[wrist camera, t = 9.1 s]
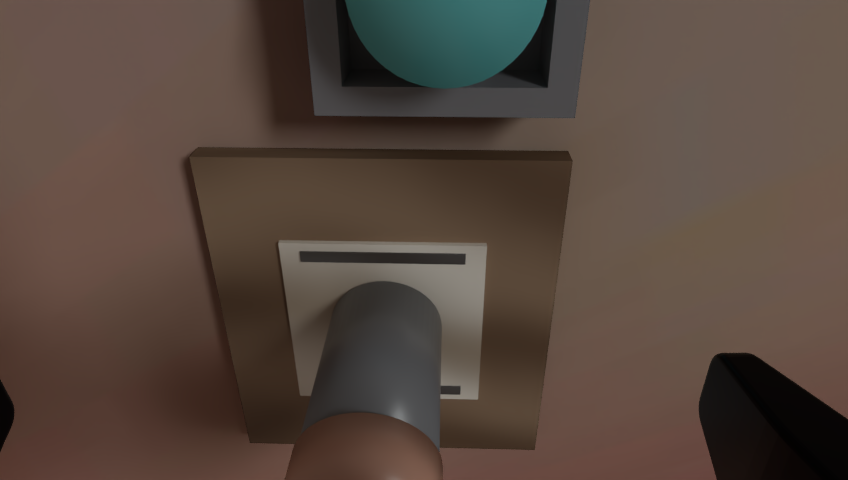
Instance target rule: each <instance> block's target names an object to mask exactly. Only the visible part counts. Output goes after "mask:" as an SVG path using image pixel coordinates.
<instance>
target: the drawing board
mask: <svg viewBox="0 0 848 480" xmlns="http://www.w3.org/2000/svg"><path fill="white" fill-rule="evenodd" d="M189 159H190V163H191V168H192V173H193V177H194V182H195V187H196V191H197V196H198V201H199V206H200V210H201V215H202V220H203V224H204V229H205V234H206V239H207V243H208V248H209V253H210V257H211V262H212V267H213V271H214V276H215V281H216V286H217V290H218V295H219V300H220V304H221V309H222V314H223V318H224V323H225V328H226V333H227V337H228V342H229V347H230V351H231V356H232V361H233V365H234V370H235V375H236V380H237V384H238V389H239V394H240V398H241V403H242V408H243V412H244V417H245V422H246V427H247V431H248V436H249V441H250V443H278V444H295V443H296V441H297V439H298V438H299V436H300V435H301V431H302V427H303V424H304V420H305V416H306V412H307V408H308V405H309V401H310V397H311V393H312V389H313V386H314V382H315V378H316V374H317V370H318V367H319V363H320V359H321V355H322V351H323V348H324V344H325V340H326V336H327V332H328V329H329V325H330V321H331V317H332V314H333V310H334V308H335V306H336V304H337V302H338V301H339V300H340V298H341V297H342V296H343V295H344V294H346V293H347V292H348V291H350V290H352V289H353V288H355V287H357V286H360V285H362V284H366V283H370V282H377V281H388V282H396V283H401V284H404V285H407V286H410V287H412V288H414V289H416V290H418V291H420V292H421V293H423V294H424V295H425V296H426V297H427V298H429V299H430V300H431V302H432V303H433V304H434V305H435V307H436V308H437V310H438V312H439V315H440V318H441V323H442V343H441V395H440V448H481V449H521V450H535V444H536V436H537V428H538V421H539V413H540V405H541V398H542V390H543V383H544V375H545V367H546V360H547V352H548V345H549V337H550V329H551V322H552V314H553V306H554V299H555V291H556V284H557V276H558V268H559V261H560V253H561V246H562V238H563V230H564V223H565V215H566V207H567V200H568V192H569V185H570V177H571V169H572V162H573V161H572V159H571V156H570V154H569V152H568V151H499V150H403V149H306V148H209V147H198V148H197V149H196V150H195V151H194V152H193V153H192V154H191V155H190V157H189Z"/></svg>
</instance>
